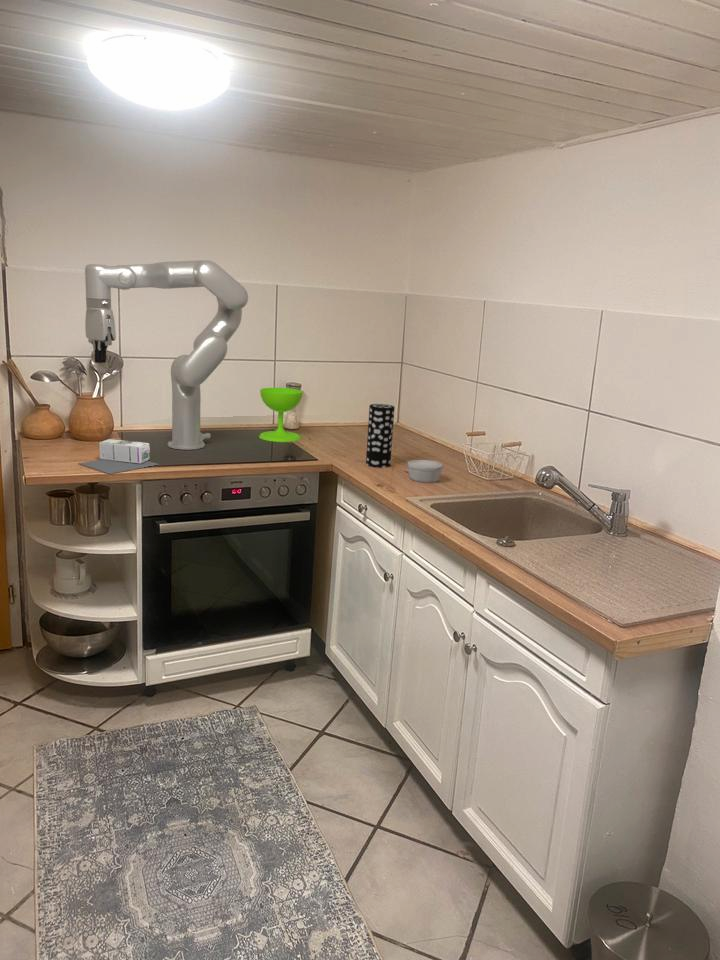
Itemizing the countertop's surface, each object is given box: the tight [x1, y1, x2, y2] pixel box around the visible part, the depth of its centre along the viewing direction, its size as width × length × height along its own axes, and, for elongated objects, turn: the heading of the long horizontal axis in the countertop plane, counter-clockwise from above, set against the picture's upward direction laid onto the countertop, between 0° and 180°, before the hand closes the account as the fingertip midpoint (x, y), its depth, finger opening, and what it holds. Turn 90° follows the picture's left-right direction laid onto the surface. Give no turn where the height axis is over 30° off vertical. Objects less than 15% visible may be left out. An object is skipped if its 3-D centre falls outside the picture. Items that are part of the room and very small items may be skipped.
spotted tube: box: [365, 403, 395, 469], centre depth 250 cm, size 8×8×20 cm
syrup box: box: [98, 438, 151, 464], centre depth 236 cm, size 6×6×14 cm
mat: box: [78, 459, 160, 475], centre depth 232 cm, size 18×16×1 cm
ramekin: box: [407, 459, 443, 484], centre depth 236 cm, size 11×11×5 cm
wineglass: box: [258, 387, 303, 443], centre depth 284 cm, size 16×16×18 cm
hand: (100, 362), depth 243 cm, fingers closed
